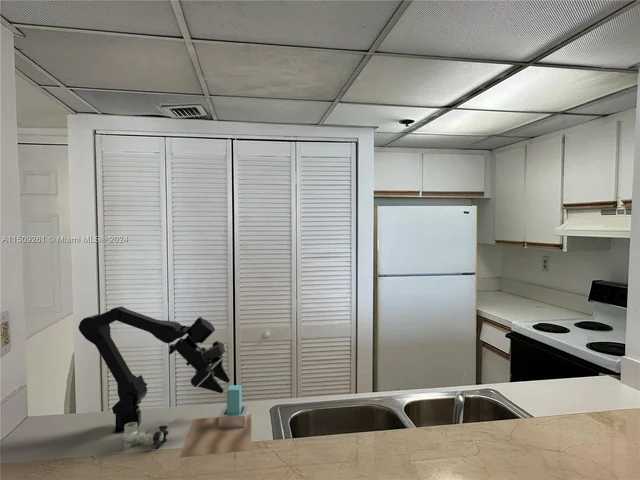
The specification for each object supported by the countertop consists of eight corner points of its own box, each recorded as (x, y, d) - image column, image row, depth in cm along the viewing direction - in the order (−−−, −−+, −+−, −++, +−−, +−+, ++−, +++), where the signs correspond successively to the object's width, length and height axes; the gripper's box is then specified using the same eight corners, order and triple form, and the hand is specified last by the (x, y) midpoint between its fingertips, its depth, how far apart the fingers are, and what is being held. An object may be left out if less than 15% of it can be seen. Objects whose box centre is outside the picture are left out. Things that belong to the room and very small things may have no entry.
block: (226, 424, 117) (226, 390, 118) (229, 418, 121) (229, 385, 122) (239, 424, 118) (239, 389, 118) (241, 418, 122) (241, 385, 122)
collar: (218, 427, 115) (218, 416, 115) (224, 416, 124) (224, 405, 124) (244, 427, 116) (244, 416, 116) (248, 415, 124) (248, 405, 124)
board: (179, 461, 99) (179, 457, 99) (193, 422, 121) (193, 419, 122) (251, 454, 102) (251, 449, 102) (251, 417, 125) (251, 414, 125)
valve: (116, 453, 104) (156, 455, 102) (116, 429, 104) (156, 431, 102) (130, 441, 110) (168, 443, 109) (131, 419, 110) (168, 420, 109)
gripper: (201, 342, 111) (238, 378, 111) (216, 329, 129) (248, 360, 130) (175, 369, 110) (211, 405, 110) (194, 352, 129) (225, 383, 129)
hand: (225, 386), depth 120 cm, fingers open, 9 cm apart
